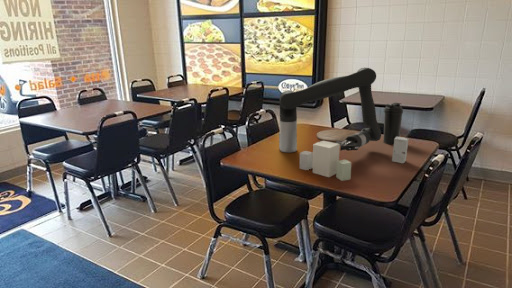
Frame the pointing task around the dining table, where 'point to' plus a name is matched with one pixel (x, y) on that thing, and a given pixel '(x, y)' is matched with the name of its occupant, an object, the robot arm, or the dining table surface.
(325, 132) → the trivet
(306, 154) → the grey block
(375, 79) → the robot arm
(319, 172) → the cream box with panel
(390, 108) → the water bottle
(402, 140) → the skincare box
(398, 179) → the dining table surface
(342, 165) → the sage block
